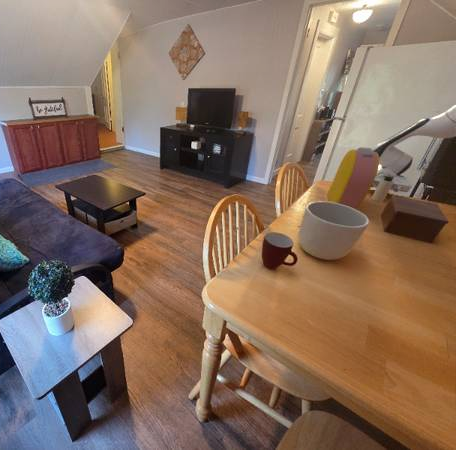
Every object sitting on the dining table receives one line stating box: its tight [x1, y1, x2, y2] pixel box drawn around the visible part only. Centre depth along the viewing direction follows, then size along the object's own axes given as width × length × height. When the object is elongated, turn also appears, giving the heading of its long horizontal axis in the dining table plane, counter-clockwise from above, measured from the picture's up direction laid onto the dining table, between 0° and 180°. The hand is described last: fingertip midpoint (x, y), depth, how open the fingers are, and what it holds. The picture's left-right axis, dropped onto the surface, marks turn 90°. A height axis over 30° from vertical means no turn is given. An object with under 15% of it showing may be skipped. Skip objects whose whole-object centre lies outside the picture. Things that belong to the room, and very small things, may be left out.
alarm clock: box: [327, 146, 379, 211], centre depth 108 cm, size 21×9×26 cm, turn 154°
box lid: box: [390, 195, 449, 225], centre depth 93 cm, size 16×14×1 cm
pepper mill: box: [370, 175, 394, 203], centre depth 117 cm, size 5×5×12 cm
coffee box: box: [380, 197, 446, 244], centre depth 96 cm, size 16×14×9 cm
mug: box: [261, 231, 299, 270], centre depth 75 cm, size 11×8×10 cm
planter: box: [298, 200, 370, 261], centre depth 81 cm, size 17×17×15 cm
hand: (384, 187), depth 116 cm, fingers open, 8 cm apart
